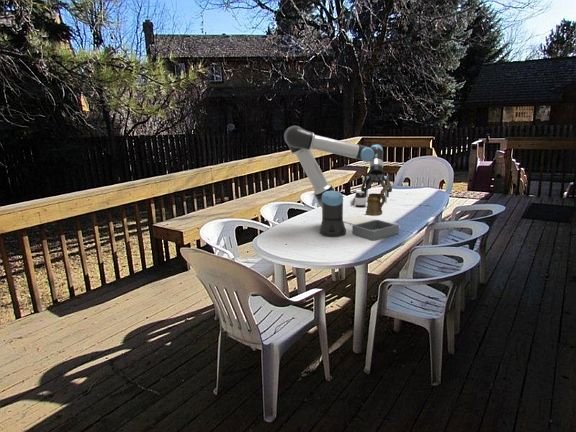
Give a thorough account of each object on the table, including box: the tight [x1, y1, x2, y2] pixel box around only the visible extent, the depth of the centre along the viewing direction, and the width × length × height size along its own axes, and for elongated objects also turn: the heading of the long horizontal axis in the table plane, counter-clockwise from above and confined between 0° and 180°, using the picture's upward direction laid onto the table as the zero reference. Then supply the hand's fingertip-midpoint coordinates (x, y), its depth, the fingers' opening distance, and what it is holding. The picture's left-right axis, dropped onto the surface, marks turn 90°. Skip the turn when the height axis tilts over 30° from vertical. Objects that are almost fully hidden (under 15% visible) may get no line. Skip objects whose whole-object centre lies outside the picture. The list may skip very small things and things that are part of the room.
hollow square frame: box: [351, 219, 399, 241], centre depth 240 cm, size 20×16×5 cm
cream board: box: [343, 214, 377, 226], centre depth 271 cm, size 18×18×1 cm
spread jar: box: [349, 189, 367, 208], centre depth 309 cm, size 12×11×12 cm
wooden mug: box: [365, 183, 389, 217], centre depth 235 cm, size 9×14×18 cm, turn 48°
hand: (376, 201), depth 233 cm, fingers closed on wooden mug, 9 cm apart
